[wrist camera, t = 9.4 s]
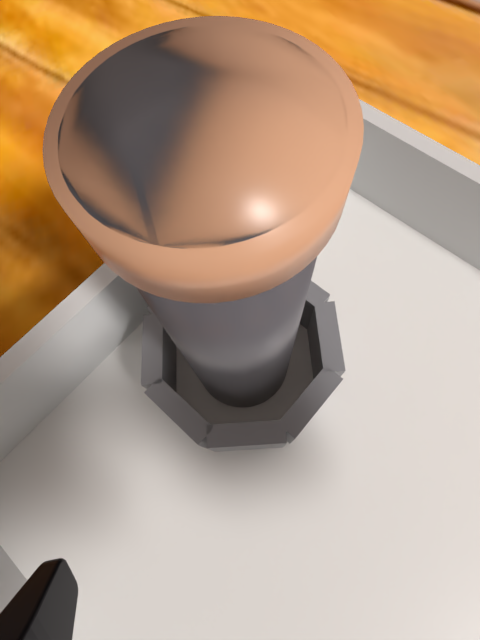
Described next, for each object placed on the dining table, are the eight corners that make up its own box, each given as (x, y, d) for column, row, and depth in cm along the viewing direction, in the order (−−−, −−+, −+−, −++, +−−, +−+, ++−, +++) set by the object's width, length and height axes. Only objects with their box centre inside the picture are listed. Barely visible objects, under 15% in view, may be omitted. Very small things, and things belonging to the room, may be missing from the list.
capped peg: (264, 430, 16) (275, 323, 4) (175, 383, 17) (-24, 184, 5) (308, 341, 18) (410, 64, 6) (222, 301, 19) (151, -12, 7)
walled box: (451, 1164, 10) (607, 1730, 6) (-49, 497, 17) (-167, 508, 12) (767, 447, 16) (974, 437, 11) (302, 155, 23) (313, 73, 18)
